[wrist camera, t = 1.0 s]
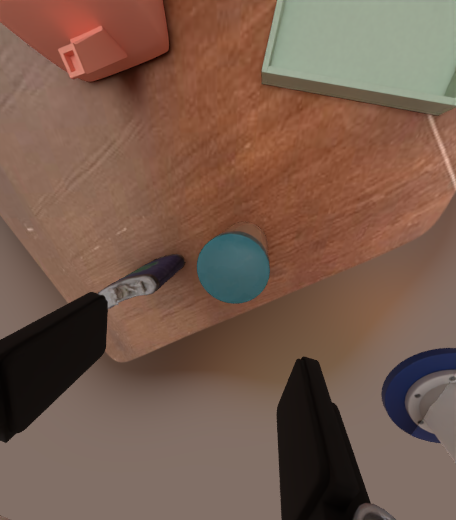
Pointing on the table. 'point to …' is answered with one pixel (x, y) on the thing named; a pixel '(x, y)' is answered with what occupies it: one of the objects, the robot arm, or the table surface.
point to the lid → (233, 267)
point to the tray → (366, 51)
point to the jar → (250, 231)
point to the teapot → (90, 32)
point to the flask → (143, 279)
